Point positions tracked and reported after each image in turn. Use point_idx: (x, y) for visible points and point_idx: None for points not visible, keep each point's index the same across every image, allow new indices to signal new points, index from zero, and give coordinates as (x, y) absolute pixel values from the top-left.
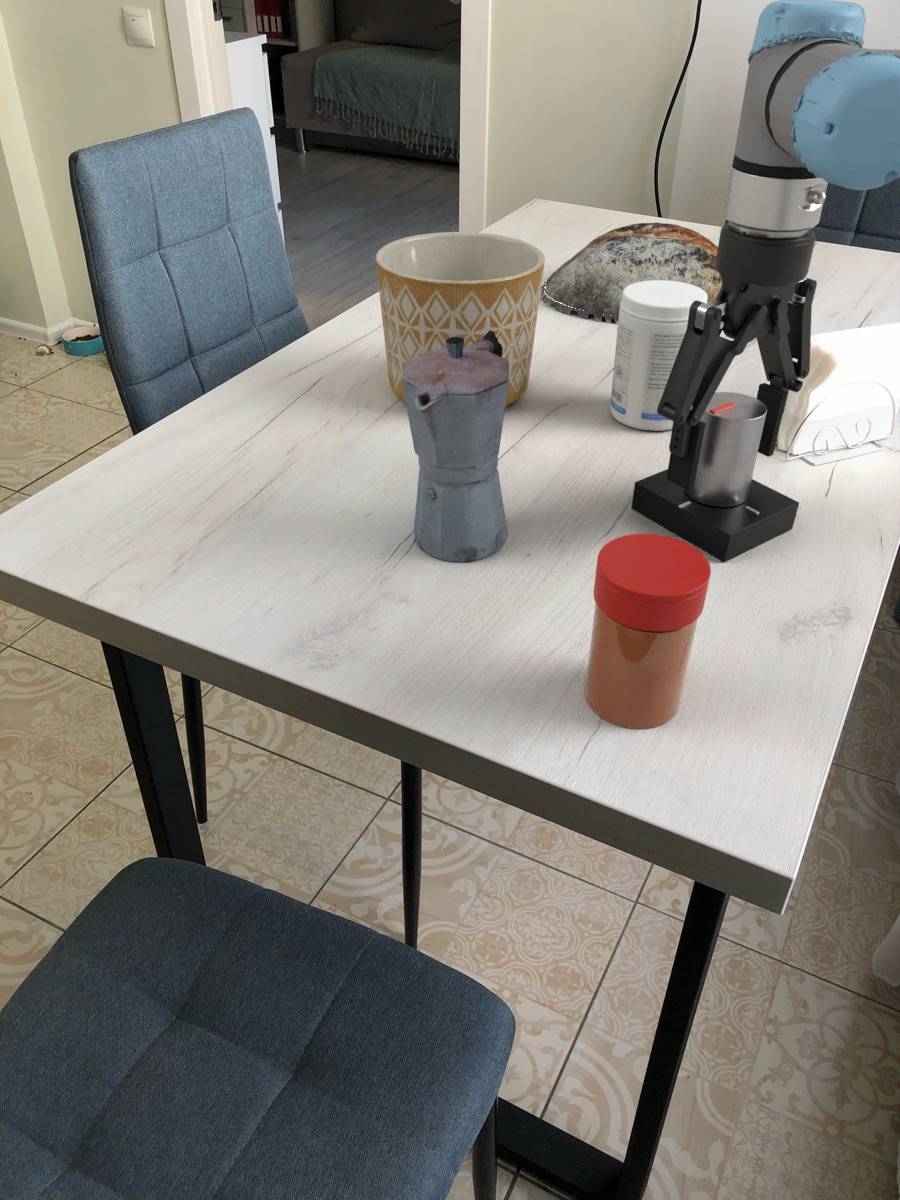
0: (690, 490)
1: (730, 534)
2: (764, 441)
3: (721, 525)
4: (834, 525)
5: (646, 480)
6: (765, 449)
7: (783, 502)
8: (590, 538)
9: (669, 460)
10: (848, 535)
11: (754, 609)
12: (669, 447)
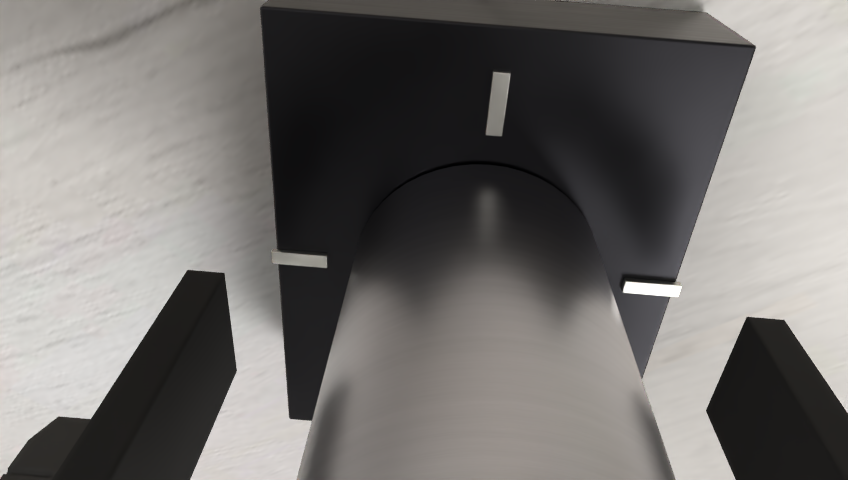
0: (356, 251)
1: (293, 417)
2: (741, 432)
3: (308, 383)
4: (700, 424)
5: (318, 33)
6: (722, 416)
7: None
8: (20, 27)
9: (147, 333)
10: (672, 458)
11: (228, 462)
12: (26, 444)
